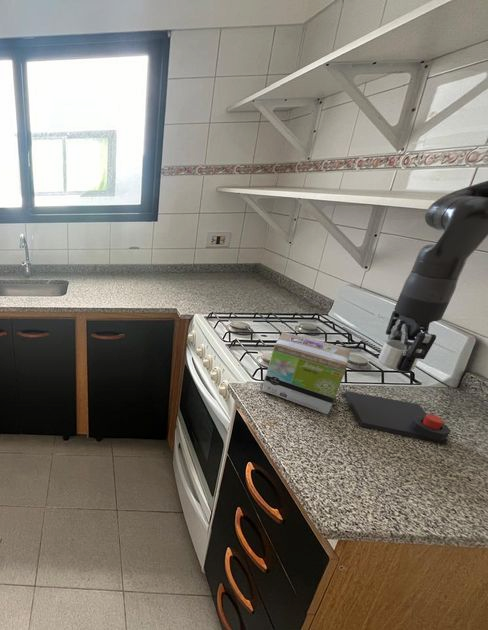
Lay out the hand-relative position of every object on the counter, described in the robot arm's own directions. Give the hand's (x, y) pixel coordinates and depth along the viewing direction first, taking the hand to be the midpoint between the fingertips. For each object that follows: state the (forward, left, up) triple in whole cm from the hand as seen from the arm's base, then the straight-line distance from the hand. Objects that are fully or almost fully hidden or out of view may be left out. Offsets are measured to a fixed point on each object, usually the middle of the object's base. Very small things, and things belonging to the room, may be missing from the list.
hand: (395, 362), depth 79 cm
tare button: (-7, +6, -11) cm, 15 cm away
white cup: (0, 0, -1) cm, 1 cm away
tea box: (+17, 0, -14) cm, 22 cm away
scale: (-2, +2, -14) cm, 14 cm away
